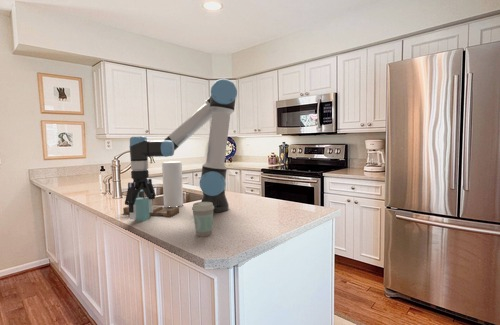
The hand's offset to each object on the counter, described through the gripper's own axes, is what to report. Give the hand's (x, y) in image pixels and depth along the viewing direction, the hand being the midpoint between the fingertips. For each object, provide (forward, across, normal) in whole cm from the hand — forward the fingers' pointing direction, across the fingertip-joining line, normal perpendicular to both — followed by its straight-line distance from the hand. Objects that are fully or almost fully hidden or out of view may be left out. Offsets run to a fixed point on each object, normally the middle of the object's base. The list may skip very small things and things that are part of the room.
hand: (142, 215), depth 130 cm
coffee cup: (+2, +13, +38) cm, 40 cm away
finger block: (+2, 0, 0) cm, 2 cm away
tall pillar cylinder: (+2, -29, -1) cm, 29 cm away
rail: (+2, -11, -3) cm, 12 cm away
